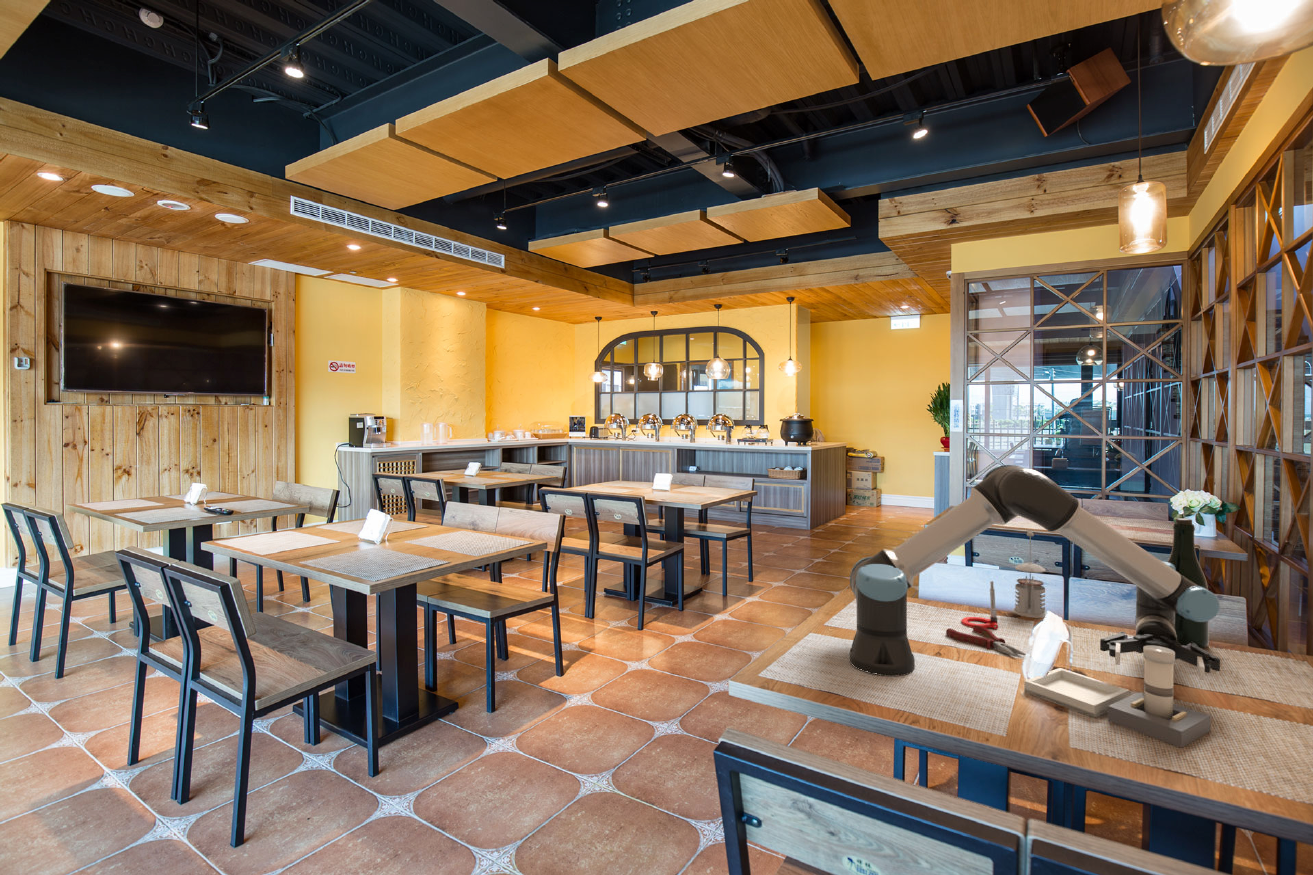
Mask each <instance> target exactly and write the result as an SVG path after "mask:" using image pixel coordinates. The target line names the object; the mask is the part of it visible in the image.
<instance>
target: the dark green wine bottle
mask: <svg viewBox="0 0 1313 875" xmlns="http://www.w3.org/2000/svg"><path fill="white" fill-rule="evenodd" d="M1172 529H1173V530H1172V531H1173V537H1172V538H1173V539H1172V540H1173V541H1172V549H1171V552H1170V555H1169V558H1168V559H1167V562H1168V563H1171V564H1173V565H1174V566H1175V568H1176V571H1177V572H1178V573H1179V574H1181V575H1182V576H1184V577H1186V578H1187V579H1189V580H1190V581H1192V582H1193V583H1195V584H1196V585H1198V586H1200V587H1204V588H1206V589H1207V590H1208V591H1209V585H1208V582H1207V579H1206V576H1205V574H1204V570H1203V569H1202V567H1201V565H1200V561H1199V560H1198V557H1197V553H1196V546H1195V544H1196V543H1195V530H1196V527H1195V525H1194V524H1193V519H1190V518H1183V517H1182V518H1181V517H1180V518H1179V517H1178V518H1175V523H1173V526H1172ZM1175 631H1176V636H1177V642H1179V643H1180V644H1181V645H1184V646H1187V644H1189V643H1194V644H1196V645H1197V646H1198V647H1199V648H1201V649H1204V648H1205V649H1206V648H1207V647H1208V646H1209V643H1210V620H1209V621H1206V622H1196V621H1193V620H1190V619H1186V618H1184V617H1183V616H1181V615H1180V614H1178V613H1176V612H1175Z"/></svg>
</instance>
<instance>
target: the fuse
mask: <svg viewBox="0 0 1313 875" xmlns="http://www.w3.org/2000/svg"><path fill="white" fill-rule="evenodd" d="M1142 654H1143V658H1144V668H1143V669H1144V673H1143V674H1144V679H1143V680H1144V681H1143V694H1144V712H1146V713H1149V714H1152V715H1155V716H1158V717H1161V718H1164V719H1166V720H1171V719H1172V717H1173V704H1174V695H1175V694H1174V667H1175V666H1174V664H1175V663H1176V659H1175V652H1174V651H1173V650H1171V649H1168V648H1165V647H1161V646H1153V645H1147V646H1144V647H1143V653H1142Z"/></svg>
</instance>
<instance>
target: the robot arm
mask: <svg viewBox="0 0 1313 875" xmlns="http://www.w3.org/2000/svg"><path fill="white" fill-rule="evenodd" d="M969 495H970V496H969V497H968V498H967V499H965V500H964V501H962V502H960V503H959V504H958V505H956V506H955V507H953V508H952V509H950V510H949V511H947V512H946V513H945V514H943V515H942V516H940V517H939V518H937V519H936V520H934V521H932V523H930V524H929V525H927V526H926V527H924V528H923V529H921V530H919V531H918V532H917V533H915V534H913V536H911V537H910V538H908V539H907V540H904V542H902V543H901V544H900V545H898V546H896V547H895V548H894V549H887V548H883V549H882V550H880V551H878V552H877V553H875V554H874V555H873V556H868V557H864V558H861V559H859V560H858V561H857V562H855V564H853V565H854V566H853V567H852V568H851V570H850V574H849V575H850V576H849V585H850V588H851V591H852V593H853V595H854V597H855V601H856V632H855V634H854V637H853V640H852V643H851V647H850V649H849V659H850V661H849V663H850V662H851V663H852V664H853V665H854V666H855V667H857V668H859V669H862V670H864V671H868V672H870V673H869V674H872V673H877V674H881V675H880V676H884V675H899V676H905V675H908V674H907V673H909V674H910V672H911V673H913V672H914V671H915V668H916V666H915V656H914V654H913V652H912V648H911V645H910V642H909V638H908V633H907V632H908V630H907V629H908V615H907V614H908V612H907V611H908V600H907V599H908V590H909V589H910V588H912V587H913V585H914V579H915V577H918V575H921V573H923V572H924V571H926V570H927V569H929V568H930V567H932V566H934V565H935V564H936V563H938V562H939V561H941V560H942V559H944V558H945V557H947V556H948V555H950V554H951V553H952V552H955V550H957V549H959V548H960V547H962V546H963V545H964V544H967V543H968V542H969V541H971V540H972V539H973V538H975V537H977V536H978V535H979V534H982V533H983V532H985V531H986V530H988V529H989V528H990V527H991V526H993V525H999V526H1000V525H1001V526H1004V525H1006V524H1008V523H1009V522H1010V521H1012V520H1013V519H1016V517H1021V518H1022V519H1023V518H1024V519H1026V520H1028V521H1030V522H1033V523H1034V524H1036V525H1039V526H1040V527H1041V528H1043V529H1045V530H1046V531H1048V532H1049V533H1059V534H1060V535H1061V536H1063V537H1064V538H1066V539H1067V540H1069V542H1072V543H1073V544H1075V546H1077V547H1079V548H1080V549H1082V550H1083V551H1085V552H1087V553H1088V554H1090V555H1091V556H1093V557H1094V558H1095V559H1097V560H1098V561H1100V562H1101V563H1103V564H1104V565H1106V566H1107V567H1109V568H1110V569H1111V570H1113V571H1115V572H1116V573H1117V574H1119V575H1120V576H1122V577H1124V578H1125V579H1126V580H1128V581H1129V582H1131V583H1132V584H1134V585H1136V586H1135V587H1136V588H1135V590H1136V595H1135V596H1136V603H1135V621H1134V622H1135V623H1134V624H1135V635H1134V636H1129V635H1128V634H1126V632H1125V631H1119V632H1118V633H1117V634H1116V633H1115V634H1113V635H1109V636H1105V637H1102V638H1100V640H1099V644H1100V645H1099V650H1100V651H1102V652H1107V651H1108V652H1109V654H1108V655H1109V657H1112V658H1115V660H1114V662H1115V665H1118V666H1120V665H1121V654H1126V653H1133V652H1135V653H1139V654H1143V647H1144V646H1147V645H1153V646H1161V647H1165V648H1168V649H1171V650H1173V651H1174V652H1175V660H1181V661H1183V662H1185V663H1187V664H1189V665H1192V666H1195V667H1196V670H1197V674H1198V675H1197V676H1198V678H1199V681H1205V675H1206V674H1210V673H1211V670H1213V671H1215V672H1220V671H1221V658H1219V657H1218V656H1216V655H1214V654H1212V653H1210V652H1208V651H1207V650H1205V649H1204V648H1199V647H1198V646H1197V645H1196V644H1194V643H1189V644H1187V646H1184V645H1181V644H1180V643H1179V642H1177V636H1176V631H1175V612H1176V613H1178V614H1180V615H1181V616H1183V617H1184V618H1186V619H1190V620H1193V621H1196V622H1206V621H1209V622H1210V621H1211V620H1213V619H1215V617H1216V616H1217V615H1218V613H1219V612H1220V609H1221V608H1220V607H1221V604H1220V603H1221V602H1220V601H1219V598H1218V597H1217V595H1216V594H1214V593H1213V592H1212V591H1210V590H1209V589H1208V590H1207V589H1206V588H1204V587H1200V586H1198V585H1196V584H1195V583H1193V582H1192V581H1190V580H1189V579H1187V578H1186V577H1184V576H1182V575H1181V574H1179V573H1178V572H1177V571H1176V568H1175V566H1174V565H1173V564H1171V563H1168V561H1163V560H1161V559H1159V558H1158V557H1156V556H1154V555H1153V554H1151V553H1150V552H1149V551H1147V550H1145V549H1144V548H1142V547H1141V546H1140V545H1138V544H1137V543H1135V542H1134V541H1132V540H1131V539H1129V538H1128V537H1127V536H1125V535H1123V534H1122V533H1120V532H1119V531H1117V530H1116V529H1114V528H1113V527H1111V526H1109V525H1108V524H1107V523H1106V522H1104V521H1103V520H1100V519H1099V518H1098V517H1096V516H1095V515H1093V514H1092V513H1090V512H1089V511H1087V510H1086V509H1085V508H1083V507H1081V502H1080V500H1079V499H1078V498H1076V497H1075V496H1073V495H1072V494H1070V493H1069V492H1068V491H1066V490H1065V489H1064V488H1062V487H1061V486H1060V485H1058V484H1057V483H1056V482H1055V481H1054V480H1052V479H1051V478H1049V477H1048V476H1046V475H1045V474H1044V473H1042V472H1041V471H1038V470H1035V469H1031V468H1027V467H1026V468H1025V467H1023V466H1019V465H1016V464H1003V465H998V466H996V467H994V468H992V469H990V470H989V471H987V472H986V474H985V475H984V476H983V479H982V481H980V482H979V483H977V484H976V485H975V486H973V487H972V488H971V489H970V494H969ZM851 663H850V664H851ZM852 664H851V665H852ZM853 665H852V666H853ZM854 666H853V667H854ZM855 667H854V668H855ZM857 668H856V669H857ZM859 669H858V670H859ZM862 670H861V671H862ZM864 671H863V672H864ZM868 672H867V673H868ZM1205 673H1206V674H1205ZM877 674H876V675H877ZM904 674H905V675H904Z"/></svg>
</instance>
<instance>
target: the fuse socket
mask: <svg viewBox="0 0 1313 875" xmlns="http://www.w3.org/2000/svg"><path fill="white" fill-rule="evenodd" d="M1211 718H1212V717H1211V715H1210V714H1207V713H1203V712H1200V711H1197V710H1194V709H1191V708H1188V707H1185V706H1182V705H1178V704H1175V703H1173V717H1172V719H1171V720H1166V719H1164V718H1161V717H1158V716H1155V715H1152V714H1149V713H1146V712H1144V693H1141V692H1135V693H1133V694H1131V695H1129V697H1127V698H1124V699H1122V700H1120V701H1118V702H1116V703H1113V704H1111V705H1109V706H1108V712H1107V721H1108V722H1110V723H1112V724H1116V725H1118V726H1121V727H1123V728H1126V729H1129V730H1131V731H1135V732H1137V733H1140V734H1143V735H1146V736H1148V737H1151V738H1154V739H1156V740H1159V741H1162V742H1165V743H1168V744H1170V745H1173V746H1175V747H1178V748H1180V749H1182V748H1184V747H1185V746H1187V745H1189V744H1191V743H1192V742H1194V741H1196V740H1197V739H1200V738H1201V737H1203V736H1205V735H1206V734H1208V733H1210V732H1211V724H1212V722H1211V721H1212V720H1211Z"/></svg>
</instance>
